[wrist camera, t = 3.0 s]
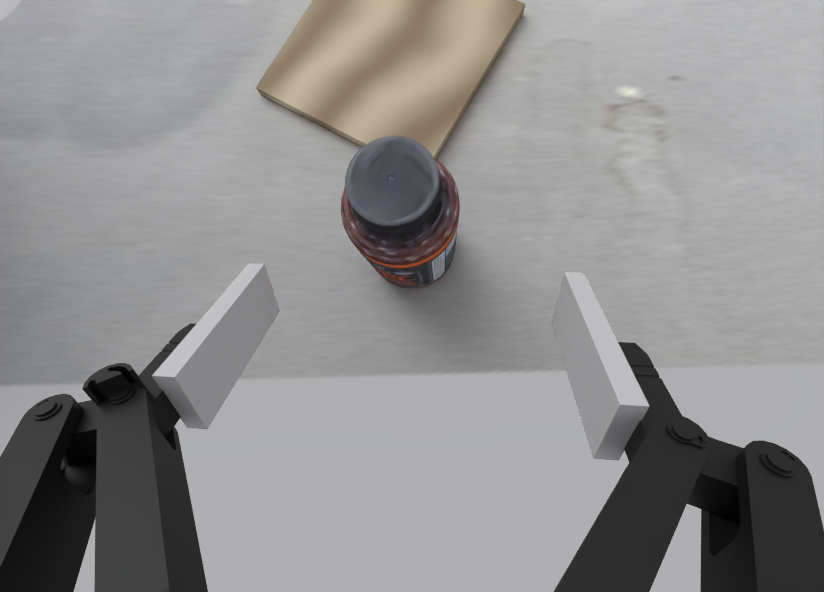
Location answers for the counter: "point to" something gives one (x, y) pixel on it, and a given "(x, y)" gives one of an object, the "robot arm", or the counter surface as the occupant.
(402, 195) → the supplement bottle
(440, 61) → the oak pad
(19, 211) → the counter surface
